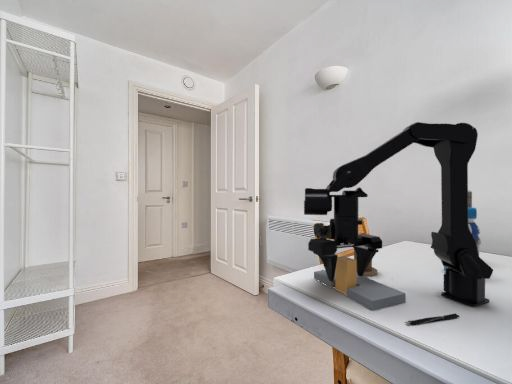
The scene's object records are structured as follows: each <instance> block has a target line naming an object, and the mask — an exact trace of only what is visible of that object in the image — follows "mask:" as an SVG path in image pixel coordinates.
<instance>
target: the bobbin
mask: <svg viewBox="0 0 512 384" xmlns="http://www.w3.org/2000/svg"><path fill="white" fill-rule="evenodd" d="M353 259H354V260H356V273H357V274H358V272H357V254H356V252H355V250H354V249H353ZM363 276H365V277H366V278H369V277H370V278H372V277H376V276H378V269H377V268H375V267H373V259H372V260H371V261H370V263H369V265H368V266H367V268H366V270H365V272H364V274H363Z"/></svg>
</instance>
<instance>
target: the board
mask: <svg viewBox="0 0 512 384" xmlns="http://www.w3.org/2000/svg"><path fill="white" fill-rule="evenodd" d="M314 278H315V279H317V280H319V281H320V282H319V281H318V282H319V283H321V282H322V283H321V284H323V283H324V284H326V285H327V287H328V286H329V287H328V288H330V287H331V288H330V289H334V288H333V287H335V276H334V280H333V282H331V281H329V279H328V276H327V273H326V270H325V269H323V270H316V271H314V272H313V279H314ZM315 279H314V280H315ZM317 280H316V281H317ZM324 284H323V285H324ZM326 285H325V286H326ZM348 297H349V298H348ZM406 297H407V295H406V293H405V292H404V291H401V290H398V289H396V288H393V287H391V286H388V285H386V284H383V283H381V282H379V281H376V280H374V279H371V278H369V277H364V276H358V274H357V273H356V286H355V287H350V288H347V295H346V298H348V299H350V300H352V301H354V302H355V303H357V304H359V305H361V306H362V307H364V308H367V309H368V310H370V311H372V312H373V311H377V310H381V309H385V308H389V307H392V306H393V307H394V306H395V305H396V306H397V305H401V304H405V303H406V300H407V299H406Z"/></svg>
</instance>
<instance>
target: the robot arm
mask: <svg viewBox="0 0 512 384" xmlns="http://www.w3.org/2000/svg"><path fill="white" fill-rule="evenodd" d="M478 135H479V133H478V130H477V128H476V127H474V126H473V125H472V124H470V123H467V122H458V123H455V124H454V123H452V124H451V123H428V122H427V123H426V122H421V121H420V122H418V121H416V122H414V123H411V124H410V125H408V126H406V127H405V128H404V129H402V131H401V132H399V133H398V134H396V135H394V136H392V137H391V138H390V139H388V140H386V141H385V142H384V143H382V144H380V145H378V147H376V148H374V149H373V150H371V151H369V152H368V153H367V154H365V155H362V156H361V157H358V158H356V159H353V160H351V161H349V162H346V163H345V164H342V165H340V166H339V167H337V168H336V169H335V170H334V171H333V173H332V180H331V181H330V182H329V184H328V185H327V186H326V187H325V188H312V187H311V188H309V187H306V188H305V189H304V200H303V215H304V216H305V215H306V216H327V215H328V213H330V212H331V211H332V210H333V218H330V219H329V224H328V225H325V224H324V223H323V222H320V223H319V222H318V223H315V224H314V225H313V233H314V236H315V237H317V238H315V237H314V238H311V239H309V241H308V244H307V245H308V250H307V251H310V252H312V253H313V254H314V255H316V256H318V257H319V259H320V260H321V262H322V265H323V267H324V270H326V273H327V276H328V279H329V281H331V282H333V280H334V276H335V270H336V264H337V258H338V257H339V256H338V254H336V253H337V251H338V249H345V248H352V249H353V251H354V250H355V252H356V254H357V272H358V276H363V274H364V272H365V270H366V268H367V266H368V265H369V263H370V261H371V260H372V261H373V258H374V257H375V256H376V253H379V250H380V249H383V240H382V239H381V237H380V236H377V235H372V234H368V233H362V234H359V226H361V225H363V220H362V219H359V198H367V197H368V196H369V195H368V193H366V192H365V191H364V190H363V189H362V187H356V186H357V185H358V184H359V183H361V181H363V180H364V179H365V178H367V176H368V175H369V174H371V172H372V171H373V170H374V169H375V168H376V167H378V166H379V165H381V164H382V163H384V162H386V161H387V160H388V159H390V158H392V157H393V156H395V155H396V154H398V153H400V152H401V151H403V150H404V149H406V148H407V147H409V146H411V145H413V144H417V145H419V146H423V147H427V148H433V151H434V152H433V153H434V156H435V158H436V160H437V161H438V163H439V165H440V168H441V169H440V171H441V173H440V174H441V176H440V177H441V179H440V180H441V181H440V182H441V183H440V185H441V188H440V189H441V226H440V228H439V230H438V231H437V232H435V231H431V236H430V237H431V239H432V240H431V245H430V248H431V249H433V252H434V255H435V256H436V257H437V258H438V259H439V260H440V262H441V263H442V266H443V267H444V266H445V267H448V268H446V273H444V274H443V292H441V296H442V297H445V298H448V299H451V300H454V301H456V302H460V303H462V304H465V305H467V306H470V307H477V306H480V305H483V304H487V303H490V299H489V298H487V297H486V279H488V280H490V279H491V277H492V275H493V272H494V269H493V268H492V267H491V266H490V265H489V264H488V263H486V262H485V261H484V260H483V258H481V257H480V252H479V253H478V248H477V243H476V240H475V239H474V237H473V235H472V233H471V231H470V230H469V227H468V191H469V181H468V180H469V177H468V175H469V172H468V170H469V169H468V168H469V167H468V164H469V162H470V160H471V158H473V157H472V156H473V155H474V153H475V151H476V148H477V141H478ZM353 187H356V189H355V190H343V189H349V188H350V189H351V188H353ZM341 190H343V191H342V194H330V193H338V192H340V191H341Z"/></svg>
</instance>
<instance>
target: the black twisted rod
mask: <svg viewBox="0 0 512 384" xmlns="http://www.w3.org/2000/svg"><path fill="white" fill-rule="evenodd" d="M457 317H459V318H460V315H459V314H457V313H456V312H455V313H452V314H445V315H442V316H440V315H439V316H438V315H437V316H431V317H424V318H419V319H414V320H408V321H405V322H404V323H405V324H404V325H405V326H407V327H411V326H412V327H414V326H419V325H423V324H428V323H429V324H431V323H438V322H444V321H449V320H453V319H454V318H455V319H458V318H457Z"/></svg>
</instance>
